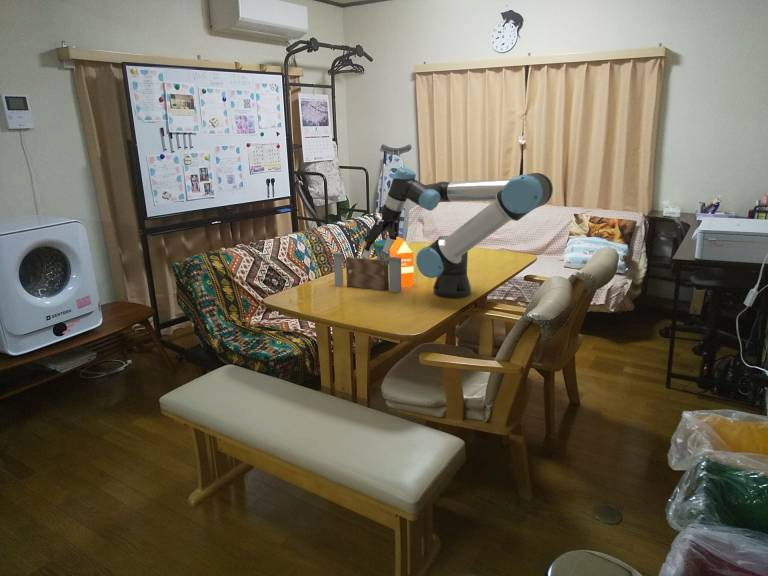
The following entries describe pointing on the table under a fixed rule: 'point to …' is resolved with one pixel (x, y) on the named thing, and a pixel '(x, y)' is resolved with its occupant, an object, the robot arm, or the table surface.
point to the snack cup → (379, 248)
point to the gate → (367, 273)
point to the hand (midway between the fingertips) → (375, 254)
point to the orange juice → (403, 260)
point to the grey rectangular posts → (393, 272)
